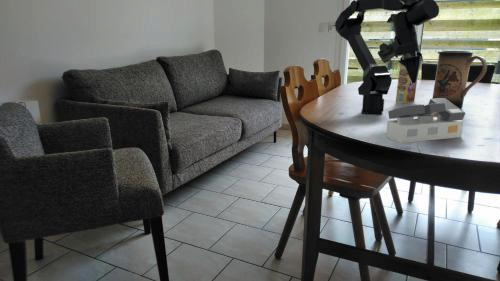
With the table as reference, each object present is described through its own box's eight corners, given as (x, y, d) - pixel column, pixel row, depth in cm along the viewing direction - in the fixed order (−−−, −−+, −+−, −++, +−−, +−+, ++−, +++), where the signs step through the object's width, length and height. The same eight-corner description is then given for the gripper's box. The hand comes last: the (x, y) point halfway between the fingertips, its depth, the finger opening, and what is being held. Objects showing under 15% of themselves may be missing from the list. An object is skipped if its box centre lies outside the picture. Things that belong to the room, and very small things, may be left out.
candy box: (405, 104, 141) (410, 64, 137) (395, 103, 144) (398, 63, 140) (415, 101, 147) (419, 62, 143) (404, 100, 150) (408, 62, 146)
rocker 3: (427, 105, 98) (430, 98, 96) (441, 104, 99) (444, 97, 97) (447, 121, 91) (451, 113, 90) (462, 119, 92) (465, 112, 91)
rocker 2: (409, 117, 96) (408, 109, 96) (423, 116, 97) (422, 108, 97) (430, 112, 88) (429, 103, 89) (446, 111, 89) (444, 102, 90)
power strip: (385, 137, 95) (387, 115, 94) (443, 131, 100) (446, 111, 98) (400, 143, 90) (403, 120, 88) (461, 137, 94) (464, 115, 93)
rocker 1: (389, 118, 95) (388, 110, 95) (403, 117, 96) (402, 109, 96) (409, 113, 87) (408, 105, 87) (425, 112, 88) (424, 104, 88)
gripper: (382, 45, 122) (390, 91, 121) (371, 32, 105) (380, 85, 104) (418, 35, 116) (427, 84, 115) (413, 20, 100) (423, 76, 99)
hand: (414, 82), depth 109 cm, fingers closed
